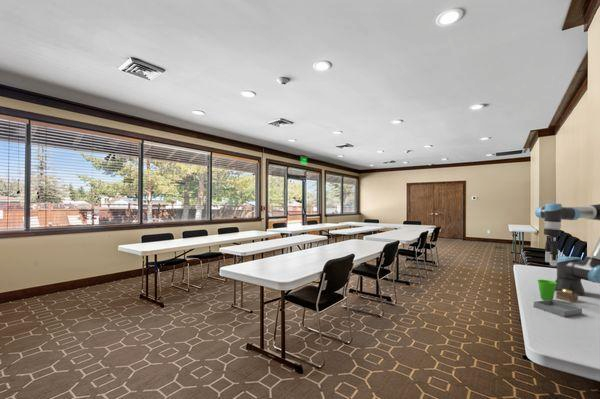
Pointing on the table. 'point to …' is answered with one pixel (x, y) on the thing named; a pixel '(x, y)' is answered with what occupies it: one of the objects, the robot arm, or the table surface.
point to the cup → (547, 289)
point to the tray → (558, 308)
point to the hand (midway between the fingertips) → (550, 263)
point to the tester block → (567, 296)
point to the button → (567, 291)
